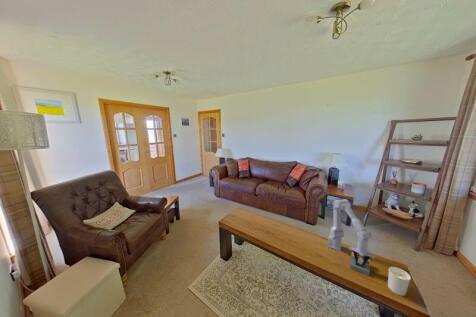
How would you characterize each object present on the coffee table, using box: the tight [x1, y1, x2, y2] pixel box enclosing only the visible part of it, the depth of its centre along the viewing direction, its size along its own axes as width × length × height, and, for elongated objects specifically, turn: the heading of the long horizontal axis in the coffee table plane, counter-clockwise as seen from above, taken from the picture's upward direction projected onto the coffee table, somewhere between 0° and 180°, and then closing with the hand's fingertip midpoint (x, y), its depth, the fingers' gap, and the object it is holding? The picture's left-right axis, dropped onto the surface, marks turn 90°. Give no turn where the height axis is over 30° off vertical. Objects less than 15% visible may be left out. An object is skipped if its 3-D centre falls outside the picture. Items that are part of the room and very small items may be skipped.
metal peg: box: [357, 253, 365, 268], centre depth 119 cm, size 4×4×8 cm
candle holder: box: [387, 266, 412, 297], centre depth 102 cm, size 10×10×12 cm
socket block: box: [349, 251, 371, 277], centre depth 120 cm, size 11×12×6 cm
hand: (360, 262), depth 119 cm, fingers closed on metal peg, 4 cm apart
